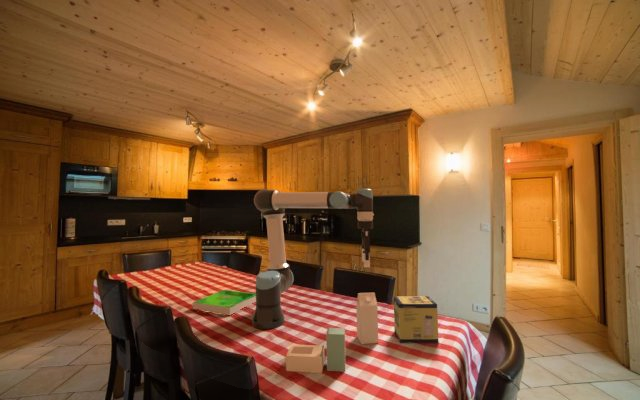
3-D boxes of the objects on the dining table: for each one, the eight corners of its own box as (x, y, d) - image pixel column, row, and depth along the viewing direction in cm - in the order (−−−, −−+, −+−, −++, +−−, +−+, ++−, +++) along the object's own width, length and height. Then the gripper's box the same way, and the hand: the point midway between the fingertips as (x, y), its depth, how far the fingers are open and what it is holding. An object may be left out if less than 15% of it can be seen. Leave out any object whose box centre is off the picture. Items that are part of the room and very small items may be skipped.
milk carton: (356, 336, 118) (356, 290, 119) (373, 335, 119) (372, 290, 120) (360, 344, 111) (359, 295, 112) (378, 343, 112) (377, 295, 113)
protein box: (393, 332, 122) (392, 295, 123) (429, 332, 122) (428, 295, 122) (399, 343, 112) (398, 303, 112) (439, 343, 111) (438, 303, 112)
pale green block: (326, 370, 93) (326, 333, 94) (328, 362, 98) (327, 327, 99) (345, 371, 93) (344, 333, 93) (345, 363, 98) (344, 327, 98)
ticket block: (286, 370, 94) (286, 354, 94) (291, 358, 101) (291, 343, 102) (322, 372, 92) (321, 356, 92) (324, 359, 100) (324, 345, 100)
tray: (192, 311, 153) (192, 302, 153) (224, 297, 176) (224, 289, 176) (229, 317, 143) (229, 307, 144) (258, 302, 167) (258, 293, 167)
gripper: (375, 221, 124) (376, 269, 124) (370, 219, 149) (371, 259, 148) (358, 221, 125) (359, 269, 124) (356, 219, 150) (356, 259, 149)
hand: (365, 264), depth 136 cm, fingers open, 13 cm apart
